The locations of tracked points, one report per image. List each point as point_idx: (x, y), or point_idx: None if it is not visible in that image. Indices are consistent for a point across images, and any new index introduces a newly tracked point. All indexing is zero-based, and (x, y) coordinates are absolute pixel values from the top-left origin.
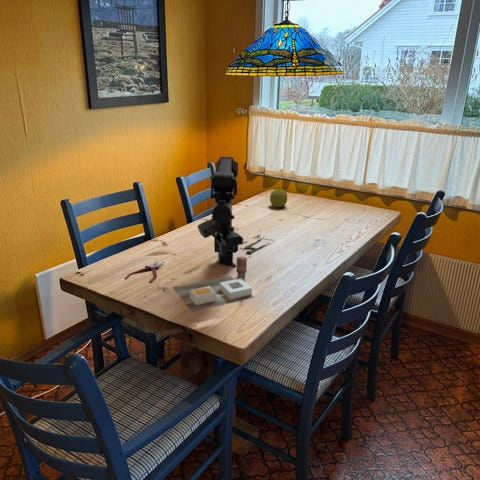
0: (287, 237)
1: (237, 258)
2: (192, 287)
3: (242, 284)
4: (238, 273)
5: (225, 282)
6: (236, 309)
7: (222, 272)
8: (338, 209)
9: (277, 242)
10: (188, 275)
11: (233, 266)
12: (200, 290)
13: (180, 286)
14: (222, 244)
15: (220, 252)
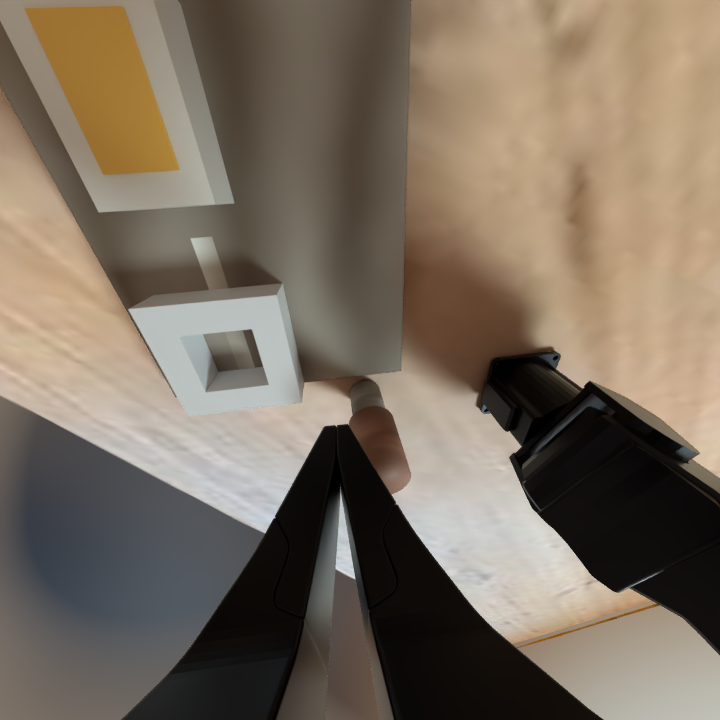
0: (542, 545)
1: (393, 464)
2: (353, 116)
3: (231, 392)
4: (365, 407)
5: (271, 325)
6: (101, 296)
7: (468, 353)
8: (570, 613)
9: (537, 526)
10: (543, 182)
11: (482, 403)
12: (118, 77)
13: (403, 8)
14: (222, 631)
15: (353, 440)
